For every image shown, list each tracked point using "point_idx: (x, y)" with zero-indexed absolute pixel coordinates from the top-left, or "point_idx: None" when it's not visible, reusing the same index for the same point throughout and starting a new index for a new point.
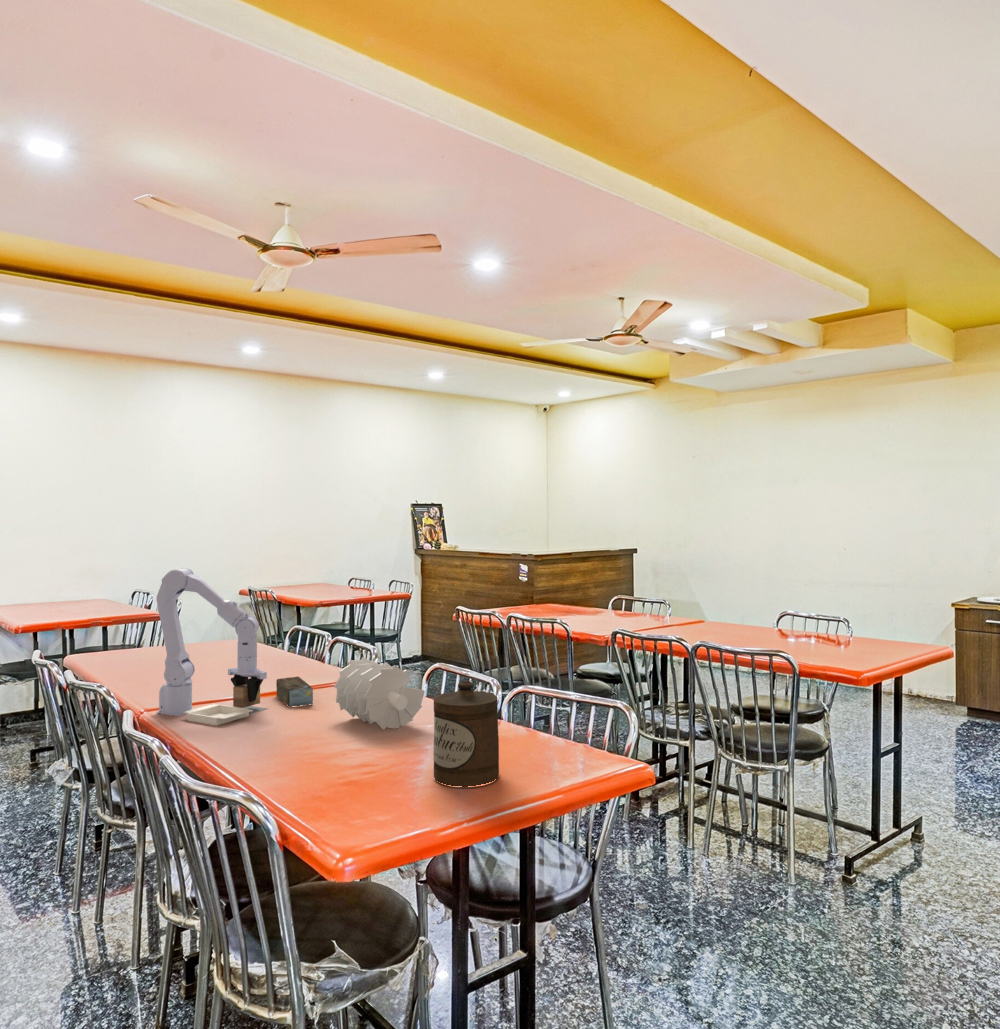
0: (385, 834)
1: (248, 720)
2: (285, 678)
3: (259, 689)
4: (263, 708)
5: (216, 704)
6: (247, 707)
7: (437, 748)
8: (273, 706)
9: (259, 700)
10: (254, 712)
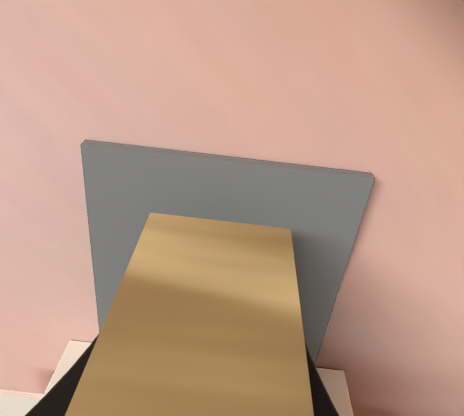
0: None
1: (385, 410)
2: None
3: (305, 363)
4: (321, 190)
5: (18, 397)
6: (149, 207)
7: None
8: (339, 20)
9: (291, 253)
10: (328, 310)
